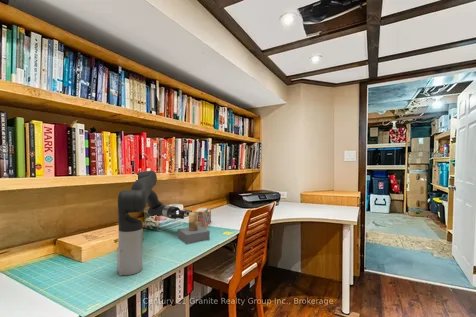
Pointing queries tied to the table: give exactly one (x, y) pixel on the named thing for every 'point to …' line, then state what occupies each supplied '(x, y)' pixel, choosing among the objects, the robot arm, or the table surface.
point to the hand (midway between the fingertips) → (189, 215)
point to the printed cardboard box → (203, 217)
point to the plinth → (193, 235)
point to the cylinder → (193, 221)
